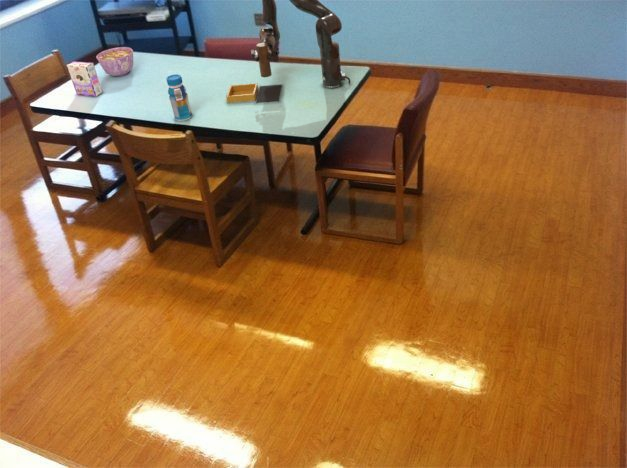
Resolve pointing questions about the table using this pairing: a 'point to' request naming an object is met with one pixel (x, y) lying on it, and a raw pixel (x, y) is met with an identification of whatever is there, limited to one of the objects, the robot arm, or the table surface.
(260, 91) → the mat
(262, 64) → the brown cylinder
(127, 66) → the bowl of food
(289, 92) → the table surface
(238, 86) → the bin
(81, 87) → the candy box
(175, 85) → the beverage bottle
